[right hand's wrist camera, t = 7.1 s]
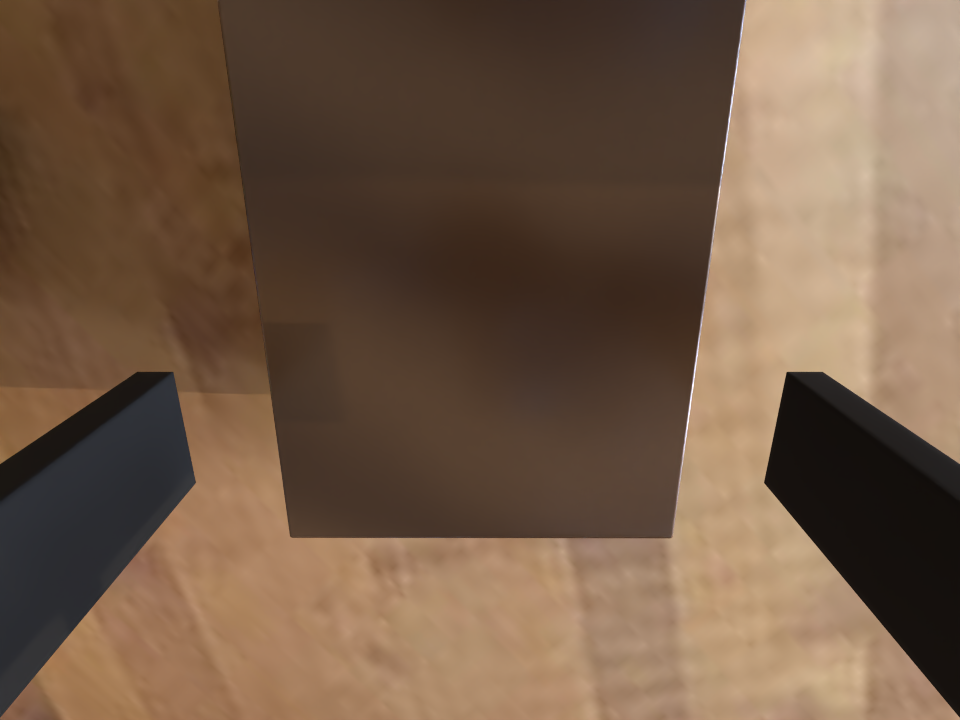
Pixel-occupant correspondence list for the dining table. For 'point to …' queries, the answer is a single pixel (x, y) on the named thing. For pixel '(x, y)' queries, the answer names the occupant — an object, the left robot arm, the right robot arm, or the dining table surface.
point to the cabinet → (481, 254)
